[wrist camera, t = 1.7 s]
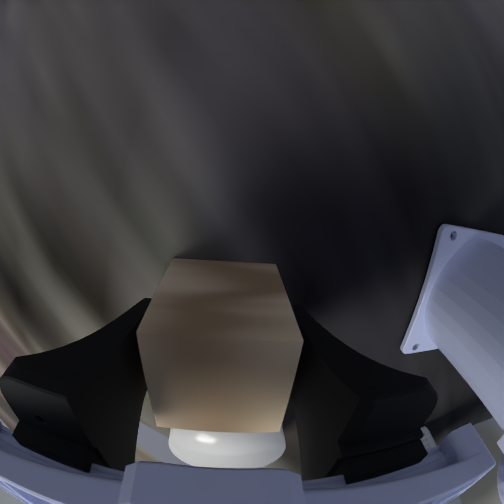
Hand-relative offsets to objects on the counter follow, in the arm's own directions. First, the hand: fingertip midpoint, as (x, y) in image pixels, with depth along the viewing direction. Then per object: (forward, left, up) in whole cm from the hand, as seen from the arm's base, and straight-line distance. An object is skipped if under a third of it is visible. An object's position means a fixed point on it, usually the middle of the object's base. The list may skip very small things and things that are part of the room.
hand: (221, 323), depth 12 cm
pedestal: (0, +9, -1) cm, 9 cm away
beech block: (0, 0, -2) cm, 2 cm away
